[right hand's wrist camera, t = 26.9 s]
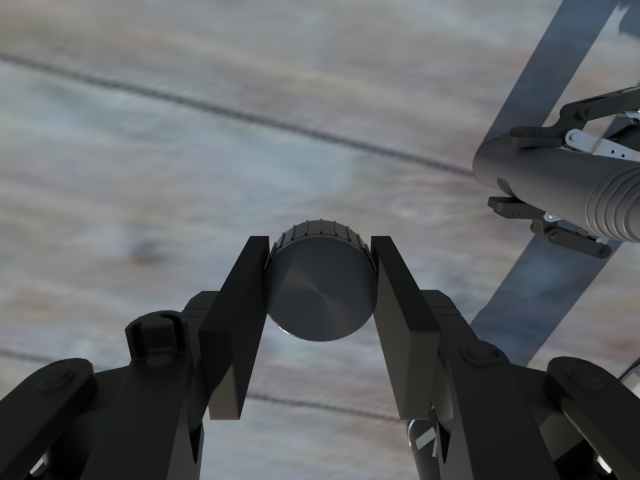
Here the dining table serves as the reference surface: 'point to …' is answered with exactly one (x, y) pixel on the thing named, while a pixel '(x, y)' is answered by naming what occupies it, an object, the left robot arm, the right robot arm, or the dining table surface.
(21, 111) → the dining table surface
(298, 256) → the cap
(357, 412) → the dining table surface
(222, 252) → the dining table surface
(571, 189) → the bottle
